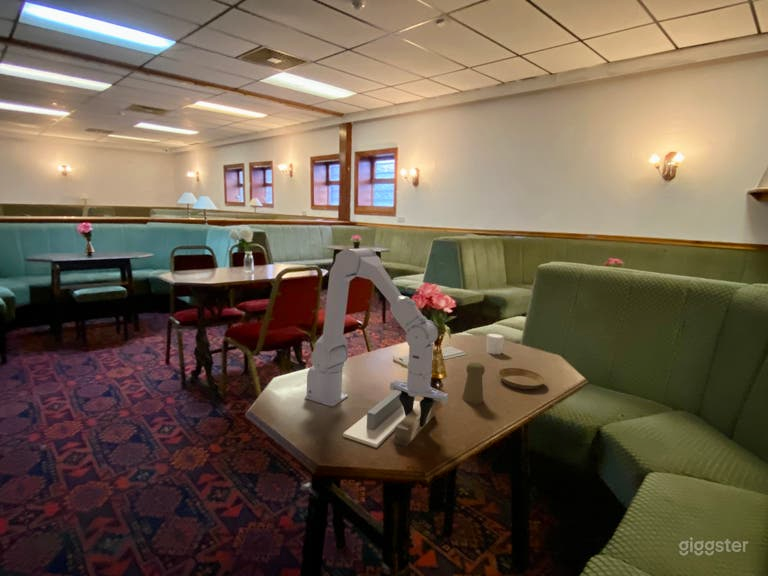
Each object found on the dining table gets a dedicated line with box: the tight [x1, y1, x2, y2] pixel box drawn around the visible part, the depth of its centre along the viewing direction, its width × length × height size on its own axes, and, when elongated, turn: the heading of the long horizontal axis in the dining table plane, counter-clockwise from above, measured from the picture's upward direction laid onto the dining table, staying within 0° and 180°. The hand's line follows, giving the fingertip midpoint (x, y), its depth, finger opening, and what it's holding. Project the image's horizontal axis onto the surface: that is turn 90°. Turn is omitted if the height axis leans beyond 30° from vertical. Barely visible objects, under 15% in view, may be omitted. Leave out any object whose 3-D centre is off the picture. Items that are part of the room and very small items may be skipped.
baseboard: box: [392, 346, 467, 369], centre depth 156 cm, size 30×3×10 cm
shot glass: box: [486, 332, 505, 355], centre depth 167 cm, size 7×7×7 cm
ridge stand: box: [342, 390, 420, 449], centre depth 107 cm, size 9×26×5 cm, turn 153°
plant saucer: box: [497, 367, 546, 390], centre depth 137 cm, size 15×15×3 cm
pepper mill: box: [461, 361, 486, 405], centre depth 122 cm, size 6×6×11 cm
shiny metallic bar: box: [393, 401, 436, 448], centre depth 104 cm, size 18×3×4 cm, turn 153°
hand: (415, 423), depth 104 cm, fingers closed on shiny metallic bar, 3 cm apart
